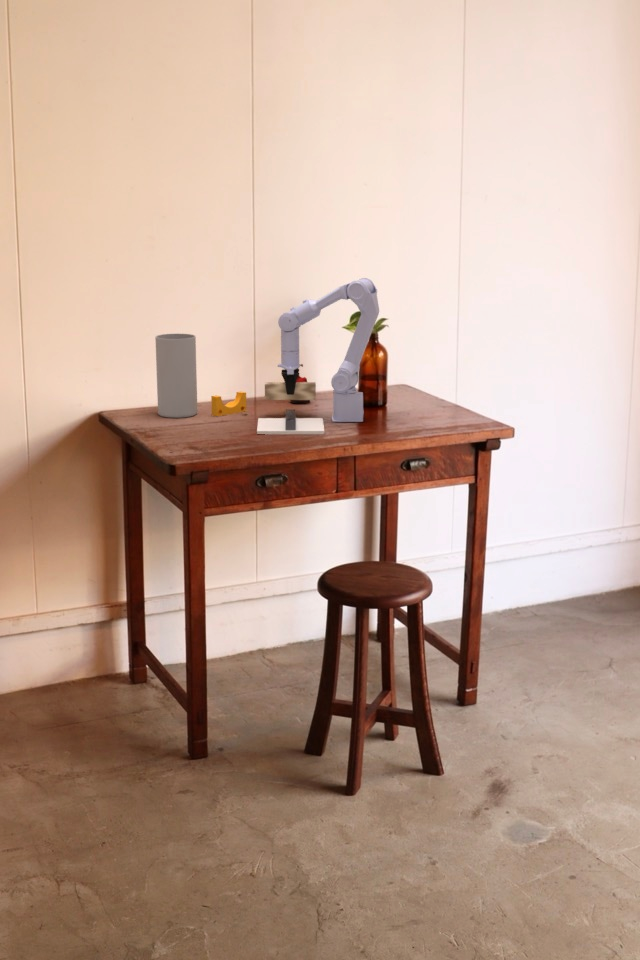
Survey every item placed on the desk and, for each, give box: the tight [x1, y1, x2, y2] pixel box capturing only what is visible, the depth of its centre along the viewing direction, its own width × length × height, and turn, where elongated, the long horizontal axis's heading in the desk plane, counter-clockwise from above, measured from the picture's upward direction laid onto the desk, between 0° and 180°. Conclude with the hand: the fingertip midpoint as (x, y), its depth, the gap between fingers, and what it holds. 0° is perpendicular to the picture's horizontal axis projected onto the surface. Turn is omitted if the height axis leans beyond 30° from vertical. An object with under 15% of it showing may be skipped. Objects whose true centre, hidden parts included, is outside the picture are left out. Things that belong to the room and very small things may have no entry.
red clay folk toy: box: [289, 363, 311, 405], centre depth 386 cm, size 8×7×15 cm
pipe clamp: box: [210, 390, 247, 417], centre depth 371 cm, size 12×4×6 cm, turn 132°
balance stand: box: [256, 408, 325, 435], centre depth 351 cm, size 20×18×4 cm
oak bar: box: [264, 381, 317, 401], centre depth 366 cm, size 16×4×5 cm, turn 91°
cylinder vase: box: [155, 333, 198, 419], centre depth 366 cm, size 12×12×25 cm
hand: (290, 393), depth 366 cm, fingers closed on oak bar, 3 cm apart
